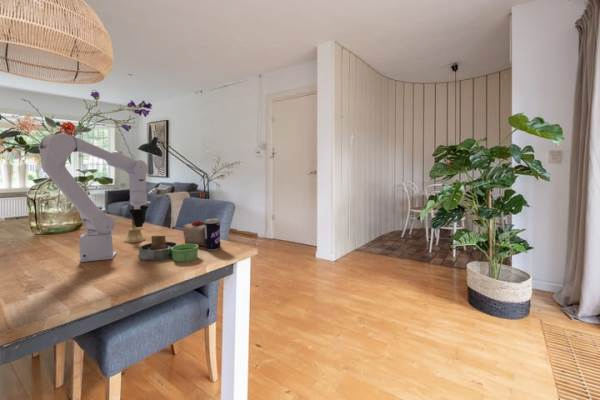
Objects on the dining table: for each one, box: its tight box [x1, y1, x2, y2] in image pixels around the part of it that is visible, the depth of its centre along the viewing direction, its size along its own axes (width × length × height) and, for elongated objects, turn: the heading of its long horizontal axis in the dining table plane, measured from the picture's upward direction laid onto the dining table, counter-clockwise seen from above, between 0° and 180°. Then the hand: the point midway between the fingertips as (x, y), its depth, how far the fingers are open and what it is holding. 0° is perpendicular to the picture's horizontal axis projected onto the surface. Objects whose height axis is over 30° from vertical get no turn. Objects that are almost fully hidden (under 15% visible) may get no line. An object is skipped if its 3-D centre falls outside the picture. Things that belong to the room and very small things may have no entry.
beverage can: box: [204, 217, 221, 252], centre depth 114 cm, size 6×6×12 cm
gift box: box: [182, 220, 205, 248], centre depth 123 cm, size 14×8×10 cm, turn 61°
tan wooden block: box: [150, 234, 166, 250], centre depth 107 cm, size 4×2×6 cm, turn 114°
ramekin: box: [171, 243, 200, 263], centre depth 103 cm, size 9×9×4 cm
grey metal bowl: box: [138, 240, 179, 262], centre depth 107 cm, size 13×13×4 cm
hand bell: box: [124, 205, 147, 244], centre depth 129 cm, size 8×8×16 cm
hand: (140, 225), depth 116 cm, fingers open, 7 cm apart
